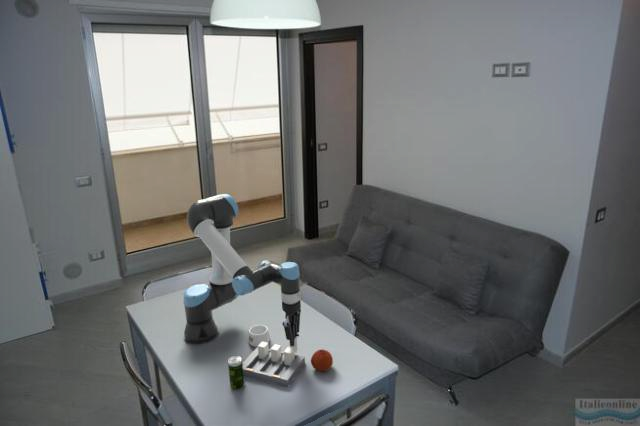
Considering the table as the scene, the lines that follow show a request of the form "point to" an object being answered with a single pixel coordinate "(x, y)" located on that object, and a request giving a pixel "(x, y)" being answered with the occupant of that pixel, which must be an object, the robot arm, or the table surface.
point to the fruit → (322, 360)
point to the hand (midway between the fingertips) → (293, 351)
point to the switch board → (272, 368)
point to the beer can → (236, 373)
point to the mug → (258, 335)
